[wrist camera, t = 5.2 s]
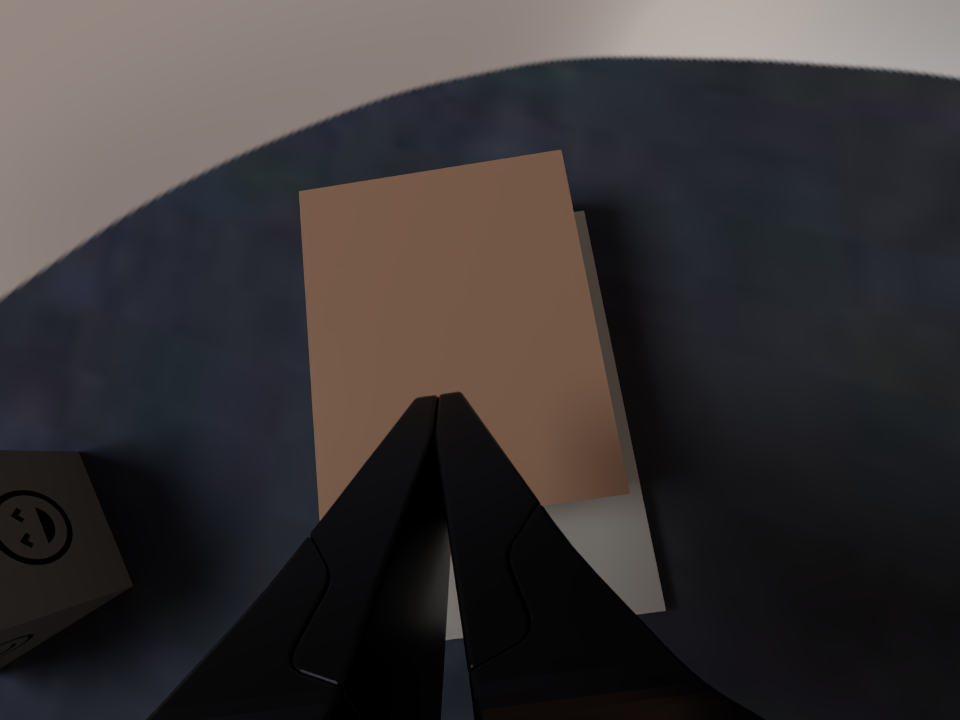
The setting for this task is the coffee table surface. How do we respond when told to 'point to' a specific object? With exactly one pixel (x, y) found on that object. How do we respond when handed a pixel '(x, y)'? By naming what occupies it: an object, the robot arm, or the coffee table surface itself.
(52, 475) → the dice cube
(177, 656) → the coffee table surface
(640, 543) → the mat
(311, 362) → the tile
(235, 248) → the coffee table surface
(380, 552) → the robot arm
